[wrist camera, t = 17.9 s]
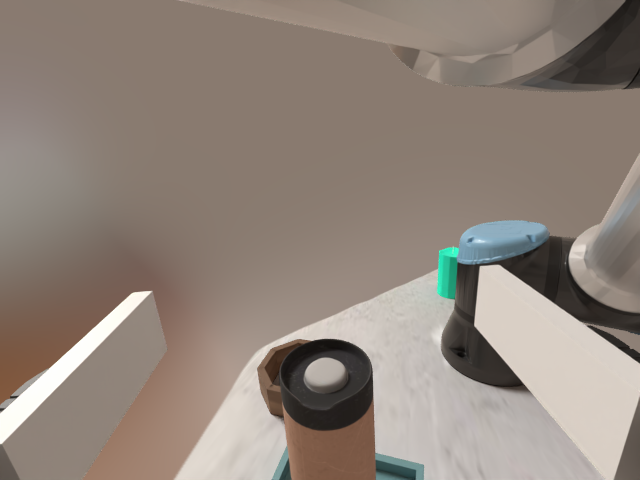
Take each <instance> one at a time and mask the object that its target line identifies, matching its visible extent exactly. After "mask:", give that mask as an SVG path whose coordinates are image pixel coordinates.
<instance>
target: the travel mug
mask: <svg viewBox="0 0 640 480" xmlns="http://www.w3.org/2000/svg"><path fill="white" fill-rule="evenodd" d="M279 381H280V389H281V398H282V406H283V414H284V422H285V430H286V439H287V447H288V455H289V463H290V471H291V479H292V480H376V462H375V432H374V402H373V371H372V365H371V362H370V359H369V358H368V356H367V355H366V353H365V352H364V351H363V350H362V349H360V348H359V347H357V346H356V345H354V344H352V343H349V342H346V341H343V340H337V339H320V340H314V341H310V342H307V343H305V344H302V345H300V346H298V347H297V348H295V349H294V350H292V351H291V352H290V353H289V354H288V355H287V356H286V357H285V359H284V360H283V362H282V364H281V367H280V371H279Z"/></svg>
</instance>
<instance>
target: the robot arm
mask: <svg viewBox="0 0 640 480" xmlns="http://www.w3.org/2000/svg"><path fill="white" fill-rule="evenodd" d="M179 1H183V2H189V3H193V4H198V5H203V6H208V7H213V8H218V9H222V10H228V11H233V12H237V13H243V14H247V15H252V16H257V17H262V18H267V19H272V20H276V21H281V22H287V23H291V24H296V25H301V26H306V27H311V28H316V29H321V30H326V31H330V32H335V33H341V34H345V35H350V36H355V37H360V38H365V39H370V40H375V41H380V42H384V43H387V45H388V46H389V48H390V49H391V51H392V52H393V53H394V54H395V55H396V56H397V57H398V59H400V61H401V62H402V63H404V64H405V65H406V66H407V67H409V68H410V69H411V70H413V71H414V72H416V73H418V74H420V75H422V76H423V77H425V78H428V79H431V80H434V81H437V82H439V83H443V84H448V85H454V86H484V87H498V88H508V89H518V90H528V91H545V92H586V91H605V90H614V89H633V88H640V0H179ZM549 235H550V233H549V231H548V228H547V227H546V226H544V225H543V224H539V223H536V222H531V223H530V222H529V221H496V222H489V223H484V224H481V225H477V226H474V227H471V228H470V229H468V230H467V231H465V232H464V233H463V235H462V236H461V239H460V245H459V251H458V255H457V261H458V263H457V278H456V292H455V306H454V310H453V312H452V314H451V316H450V319H449V321H448V323H447V325H446V327H445V329H444V331H443V333H442V339H441V350H442V354H443V356H444V357H445V359H446V360H447V361H448V363H449V364H450V365H451V366H453V367H454V368H455V369H456V370H458V371H459V372H461V373H462V374H464V375H466V376H468V377H470V378H472V379H475V380H478V381H481V382H484V383H488V384H492V385H499V386H516V385H522V384H524V385H525V386H526V387H527V388H528V389H529V390H530V392H531V393H532V394H533V395H534V396H535V397H536V399H537V400H538V401H539V402H540V403H541V405H542V406H543V407H544V408H545V409H546V410H547V412H548V413H549V414H550V415H551V416H552V417H553V419H554V420H555V421H556V422H557V423H558V424H559V426H560V427H561V428H562V429H563V430H564V432H565V433H566V434H567V435H568V436H569V437H570V439H571V440H572V441H573V442H574V443H575V444H576V446H577V447H578V448H579V449H580V450H581V451H582V453H583V454H584V455H585V456H586V457H587V459H588V460H589V461H590V462H591V463H592V464H593V466H594V467H595V468H596V469H597V470H598V471H599V473H600V474H601V475H602V476H603V477H604V478H605V480H640V353H638V352H637V351H635V350H634V349H630V348H629V346H628V345H626V344H625V343H623V342H622V341H620V340H619V339H617V338H616V337H614V336H613V335H611V334H609V333H607V332H604V331H602V330H600V329H597V328H595V327H593V326H585V325H584V324H582V323H581V322H584V323H589V324H594V325H599V326H604V327H609V328H614V329H619V330H624V331H628V332H630V333H634V334H638V335H640V153H639V155H638V157H637V159H636V161H635V163H634V165H633V166H632V168H631V170H630V172H629V174H628V176H627V177H626V179H625V181H624V182H623V184H622V186H621V188H620V190H619V192H618V193H617V195H616V197H615V199H614V201H613V203H612V205H611V206H610V208H609V210H608V212H607V213H606V215H605V217H604V219H603V221H602V222H601V224H598V225H596V226H593V227H591V228H589V229H588V230H586V231H585V232H584V233H582V234H581V235H580V236H579V237H578V238H570V237H556V236H549ZM166 351H167V346H166V342H165V338H164V334H163V331H162V327H161V323H160V319H159V315H158V311H157V307H156V304H155V300H154V296H153V292H152V291H147V292H134V293H132V294H131V295H130V296H129V297H128V298H126V299H125V300H124V301H123V302H122V303H121V304H120V305H119V306H118V307H117V308H116V309H114V310H113V311H112V312H111V313H110V314H109V315H108V316H107V317H106V318H105V319H103V320H102V321H101V322H100V323H99V324H98V325H97V326H96V327H95V328H94V329H92V330H91V331H90V332H89V333H88V334H87V335H86V336H85V337H84V338H83V339H81V341H79V342H78V343H77V344H76V345H75V346H74V347H73V348H72V349H71V350H70V351H68V352H67V353H66V354H65V355H64V356H63V357H62V358H61V359H60V360H58V361H57V362H56V363H55V364H54V365H53V366H52V367H51V368H50V369H46V370H45V371H43V372H42V373H40V374H38V375H37V376H35V377H34V378H32V379H30V380H29V381H27V382H26V383H25V384H24V385H23V386H21V387H20V388H19V389H18V390H17V391H16V392H15V393H13V394H12V395H11V396H10V399H7V400H6V401H4V402H3V403H2V404H1V405H0V480H82V479H83V478H84V476H85V475H86V473H87V472H88V470H89V469H90V467H91V465H92V464H93V462H94V461H95V459H96V458H97V456H98V455H99V453H100V452H101V450H102V449H103V447H104V446H105V444H106V442H107V441H108V439H109V438H110V436H111V435H112V433H113V432H114V430H115V429H116V427H117V425H118V424H119V423H120V421H121V419H122V418H123V416H124V415H125V413H126V412H127V410H128V409H129V407H130V406H131V404H132V403H133V401H134V399H135V398H136V396H137V395H138V393H139V392H140V390H141V389H142V387H143V386H144V384H145V383H146V381H147V380H148V378H149V376H150V375H151V374H152V372H153V370H154V369H155V367H156V366H157V364H158V363H159V361H160V360H161V358H162V357H163V355H164V354H165V352H166Z"/></svg>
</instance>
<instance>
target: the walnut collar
mask: <svg viewBox="0 0 640 480" xmlns="http://www.w3.org/2000/svg"><path fill="white" fill-rule="evenodd" d="M307 342H310V341H309V340H302V339H297V340H294V341H291V342H288V343H286V344H283V345H280V346H277V347H274V348H272V349H271V350H270V351H269V353H268V354H267V355H266V357H265V358H264V360H263V361H262V362H261V364H260V365H259V367H258V368H257V370H258V377H259V383H260V389H261V393H262V395H263V398H264V400H265V402H266V404H267V407H268V409H269V411H270V413H271V414H274V415H278V416H283V417H284V414H283V406H282V398H281V389H280V386H277V385H273V384H272V383H273V381H274V379H275V378H276V376H277V375H278V373H279V371H280V367H281V364H282V362H283V360H284V359H285V357H286V356H287V355H288V354H289V353H290V352H291V351H292V350H294V349H295V348H297V347H298V346H300V345H302V344H305V343H307Z"/></svg>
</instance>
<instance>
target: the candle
mask: <svg viewBox="0 0 640 480" xmlns="http://www.w3.org/2000/svg"><path fill="white" fill-rule="evenodd" d="M458 251H459V248H454V247H453V248H446V249H444V250H440V251H439V267H438V286H437V293H438V294H439V295H440V296H442V297H445V298H450V299H455V292H456V278H457V263H458V261H457V255H458Z"/></svg>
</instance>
